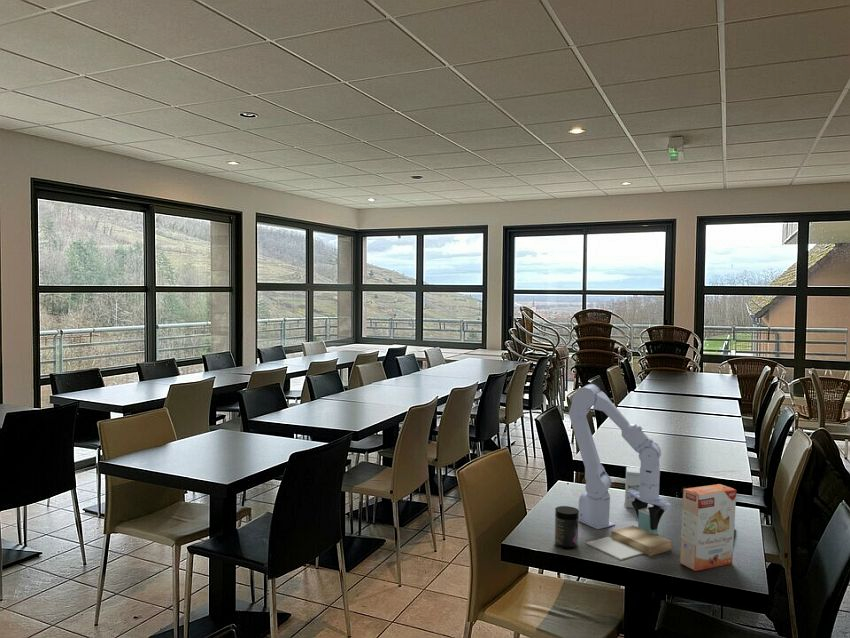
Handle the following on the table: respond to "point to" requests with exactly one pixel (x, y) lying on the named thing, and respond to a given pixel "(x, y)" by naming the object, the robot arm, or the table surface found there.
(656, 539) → the oak slab
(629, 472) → the supplement box
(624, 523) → the table surface
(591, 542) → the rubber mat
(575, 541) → the supplement container
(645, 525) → the teal block
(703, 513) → the cracker box
